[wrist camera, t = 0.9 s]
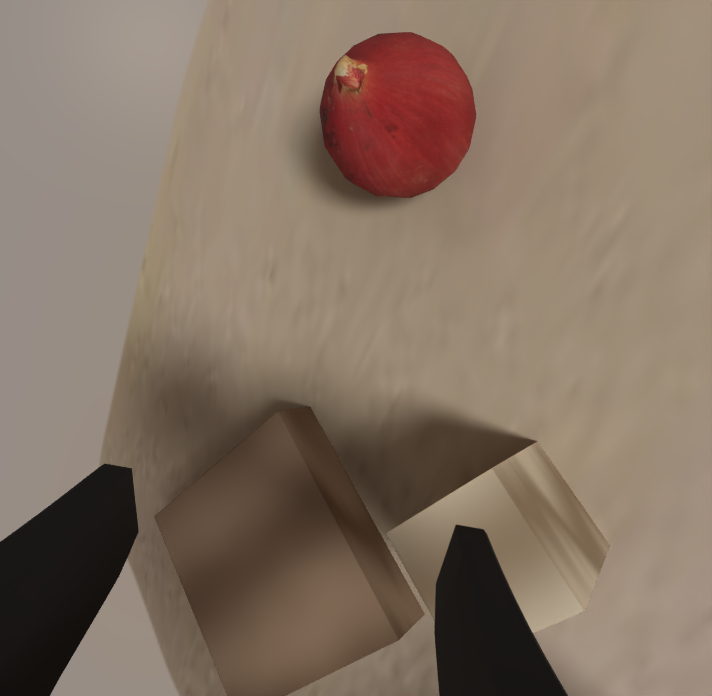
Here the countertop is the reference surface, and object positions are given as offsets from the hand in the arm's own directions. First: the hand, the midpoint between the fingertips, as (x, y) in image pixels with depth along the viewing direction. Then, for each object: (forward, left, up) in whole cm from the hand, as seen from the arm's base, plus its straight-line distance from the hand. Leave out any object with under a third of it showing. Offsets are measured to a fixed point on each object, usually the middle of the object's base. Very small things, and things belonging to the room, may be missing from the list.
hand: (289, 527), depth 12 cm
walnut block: (+1, +12, -13) cm, 18 cm away
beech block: (-3, 0, -13) cm, 13 cm away
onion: (+12, -6, -13) cm, 18 cm away
